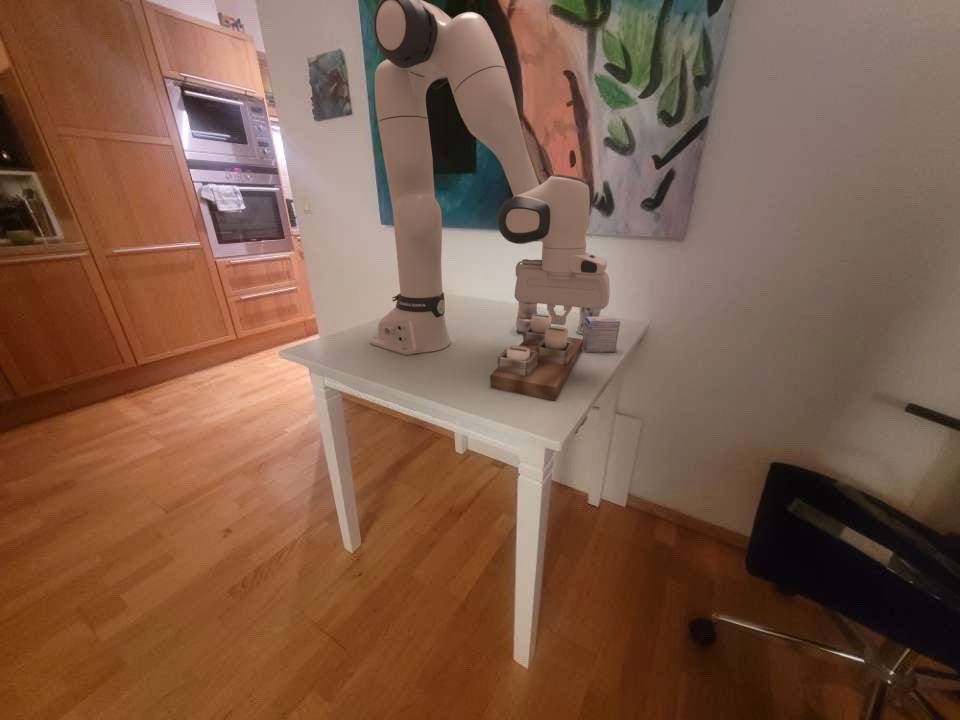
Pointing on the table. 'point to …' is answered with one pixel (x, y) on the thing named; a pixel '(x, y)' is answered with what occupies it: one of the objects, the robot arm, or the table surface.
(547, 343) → the knob
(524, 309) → the plastic bottle
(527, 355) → the knob
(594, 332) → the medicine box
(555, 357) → the knob mount
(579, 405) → the table surface
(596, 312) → the beer glass
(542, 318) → the knob
